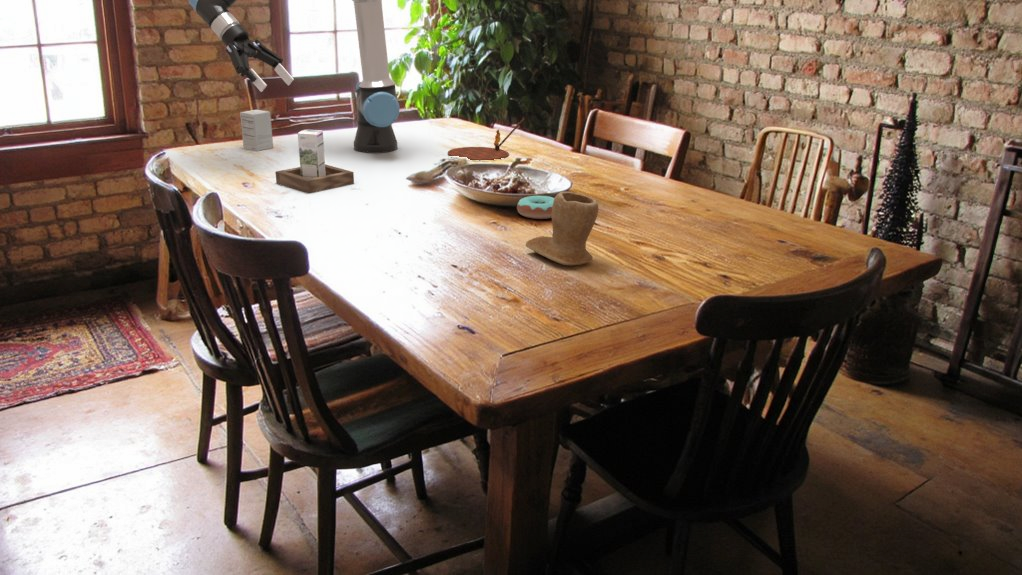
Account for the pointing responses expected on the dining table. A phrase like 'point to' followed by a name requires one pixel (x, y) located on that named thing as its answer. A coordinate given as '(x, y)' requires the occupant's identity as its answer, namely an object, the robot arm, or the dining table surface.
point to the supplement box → (256, 130)
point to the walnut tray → (315, 179)
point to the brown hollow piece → (568, 230)
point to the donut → (536, 207)
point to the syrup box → (311, 153)
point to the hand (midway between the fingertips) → (278, 85)
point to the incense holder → (483, 150)
